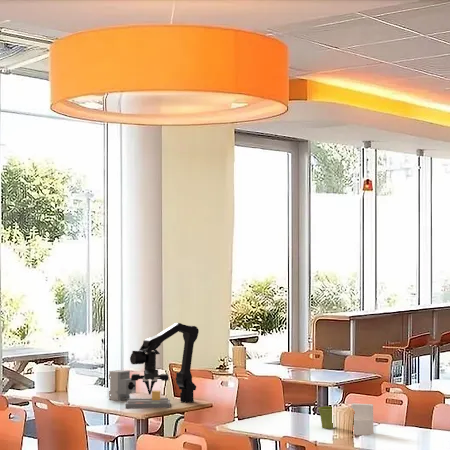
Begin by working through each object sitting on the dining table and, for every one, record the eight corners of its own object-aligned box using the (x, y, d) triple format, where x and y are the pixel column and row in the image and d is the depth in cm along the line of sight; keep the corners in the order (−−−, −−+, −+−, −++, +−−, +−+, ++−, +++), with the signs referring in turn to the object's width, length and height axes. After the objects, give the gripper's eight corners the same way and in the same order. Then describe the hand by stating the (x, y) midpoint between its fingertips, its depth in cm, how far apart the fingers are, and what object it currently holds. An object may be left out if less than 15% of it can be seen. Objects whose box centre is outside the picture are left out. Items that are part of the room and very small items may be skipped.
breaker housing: (170, 403, 489) (170, 397, 489) (169, 407, 475) (169, 401, 475) (127, 404, 488) (127, 397, 488) (125, 408, 474) (125, 401, 474)
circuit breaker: (128, 401, 498) (128, 372, 498) (108, 399, 506) (108, 371, 507) (138, 399, 504) (138, 371, 504) (118, 397, 512) (118, 370, 513)
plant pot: (325, 430, 404) (324, 410, 404) (314, 427, 413) (314, 407, 413) (344, 428, 408) (343, 408, 408) (333, 425, 416) (332, 405, 417)
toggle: (160, 400, 485) (160, 390, 485) (159, 401, 480) (159, 391, 480) (152, 400, 484) (152, 390, 485) (152, 401, 479) (151, 391, 480)
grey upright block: (349, 434, 394) (349, 405, 395) (354, 430, 403) (354, 402, 403) (371, 435, 391) (370, 406, 392) (375, 431, 399) (375, 403, 400)
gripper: (130, 365, 474) (130, 396, 473) (168, 365, 475) (167, 396, 474) (132, 362, 485) (131, 393, 485) (168, 363, 486) (168, 393, 485)
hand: (149, 394), depth 482 cm, fingers closed
